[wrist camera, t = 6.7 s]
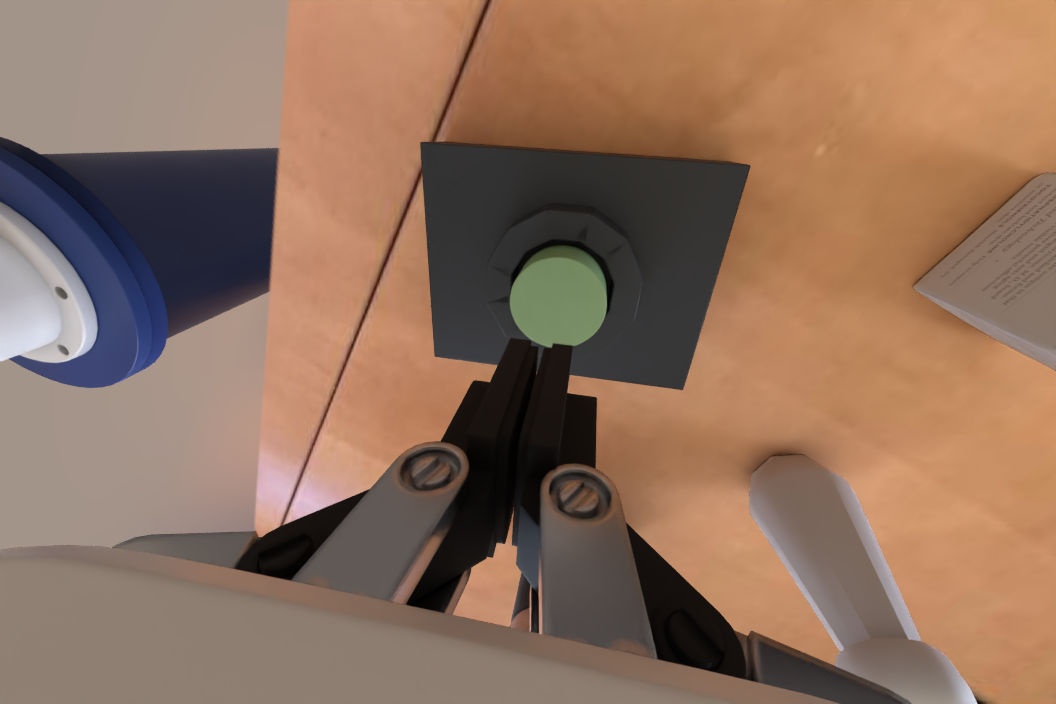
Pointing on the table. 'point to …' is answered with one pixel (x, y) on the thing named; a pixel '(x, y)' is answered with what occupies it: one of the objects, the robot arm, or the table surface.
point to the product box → (1006, 274)
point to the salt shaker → (848, 579)
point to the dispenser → (591, 225)
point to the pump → (559, 296)
